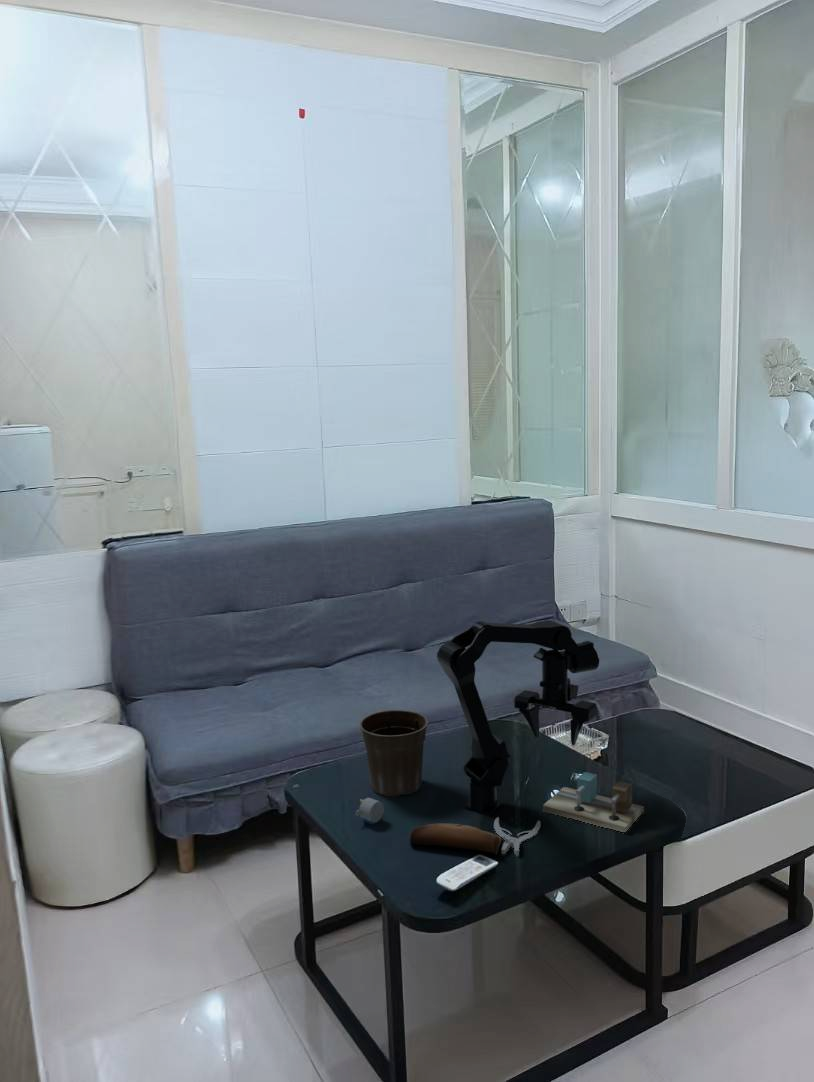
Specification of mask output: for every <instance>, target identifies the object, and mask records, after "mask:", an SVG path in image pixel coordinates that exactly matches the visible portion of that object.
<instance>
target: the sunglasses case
mask: <svg viewBox="0 0 814 1082" xmlns="http://www.w3.org/2000/svg"><path fill="white" fill-rule="evenodd" d="M410 833H411V834H410V837H409V842H410V845H417V846H418V845H420V846H422V845H423V846H435V847H436V846H442V847H448V848H454V849H455V848H456V849H463V850H470V851H478V852H479V851H480V852H486V853H491V854H492V853H493V854H494V855H496V856H497V855H498V852H499V850H500V847H501V844H502V840H503V839H502V838H501V837H500V836H498V835H497V834H496V833H494V832H490V831H486V830H483V829H480V828H477V827H474V826H472V825H466V824H460V823H445V822H444V823H443V822H441V823H440V822H438V823H430V824H424V825H421V826H420V825H419V826H416V827H415V828H414V829H412V831H411V832H410ZM499 846H500V847H499ZM498 849H499V850H498Z"/></svg>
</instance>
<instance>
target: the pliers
mask: <svg viewBox="0 0 814 1082" xmlns="http://www.w3.org/2000/svg"><path fill="white" fill-rule="evenodd" d="M494 829H495V830H494ZM539 829H541V821H540V820H537V822H536V824H535V826H534V827H533V828H532V829H531V830H525V831H521V832H519V833H518V834H516V836H517V837H518V838H517V837H514V836H513V834H512V832H510V830H507V829H505V828H503V827H501V826H500V817H499V816H497V817H496V818H495V819H494V822H493V830H494V832H495V831H496V832H495V834H496V833H497V834H498V835H499V836H500V837H502V838H503V839H504V840H505V841H504V840H503V839H502V840H503V841H504V842H503V843H502V847H501V855H502V854H505V853H506V852H507V851H508V852H509V850H510V849H513V848H514V849H513V852H514V856H515V855H516V856H515V857H520V849H519V848H520V847H521V845H520V844H522V843H521V842H523V841H524V842H526V841H528V840H527V839H529V840H531V839H532V837H533V836H534V837H536V836H537V835H538V833H539V832H538V831H540V830H539ZM502 830H503V831H502ZM504 831H506V832H504ZM507 832H508V833H509V834H508V833H507ZM523 833H528V834H523ZM497 834H496V835H497ZM510 834H511V835H512V836H511V835H510ZM520 834H523V835H520ZM519 835H520V836H519ZM534 837H533V838H534ZM530 838H531V839H530ZM525 840H526V841H525ZM524 842H523V843H524ZM510 847H512V848H510ZM509 848H510V849H509ZM508 852H507V853H508ZM507 853H506V854H507ZM506 854H505V855H506Z"/></svg>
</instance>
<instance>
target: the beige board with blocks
mask: <svg viewBox="0 0 814 1082" xmlns="http://www.w3.org/2000/svg"><path fill="white" fill-rule="evenodd" d="M576 790H577V789H574V788H571V787H566V786H563V787H562V788H561V789H560V790H559V791H557V792H556V793H555V794H554V795H553V796H552V797H550V799H548V800H547V801H546V802H545V803H544V804H542V813H546V814H550V813H551V815H553V814H554V816H557V815H559V816H558V817H561V816H563V817H562V818H564V817H566V818H565V819H568V818H572V819H575V820H579V821H582V822H581V823H583V822H585V823H584V824H587V823H589V824H588V825H590V824H593V825H592V826H594V825H596V826H595V827H598V826H600V827H599V828H601V827H604V828H603V829H605V828H609V829H613V830H616V831H620V832H626V831H627V830H628V829H629V828H630V827H631V826H632V824H633V823H634V822H635V821H636V820H637V818H638V817H639V816H640V815H641V814H642V813H643V812H644V813H645V806H643V805H640V804H635V803H633V783H629V782H624V781H620V780H619V781H617V783H615V784H614V785H613V786H612V787H611V797H608V796H603V795H599V794H597V796H596V797H595V798H594V799H593V800H592V801H591V802H590V803H589V802H585V801H581V806H577V794H576ZM644 813H643V814H644ZM572 819H571V820H572ZM575 820H574V821H575ZM579 821H578V822H579ZM637 821H638V820H637ZM637 821H636V822H637ZM632 827H633V826H632ZM632 827H631V828H632ZM631 828H630V829H631ZM609 829H608V830H609ZM630 829H629V830H630ZM629 830H628V831H629ZM616 831H615V832H616ZM620 832H619V833H620Z"/></svg>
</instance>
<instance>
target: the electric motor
mask: <svg viewBox="0 0 814 1082" xmlns="http://www.w3.org/2000/svg"><path fill="white" fill-rule="evenodd" d="M359 803H360V804H359V808H358V809H357V810H356V811H355V816H356V817H358V816H359V817H360V819H362V821H363V822H364V823H366V824H369V825H372V826H373V825H375V824H376V823H379V822H380V820H381V819H382V818H383V815H384V813H385V812H384V810H385V807H384V804H383V802H382V801H379V800H376V799H374V798H371V797H366V798H364V799H362V798H360V799H359Z"/></svg>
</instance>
